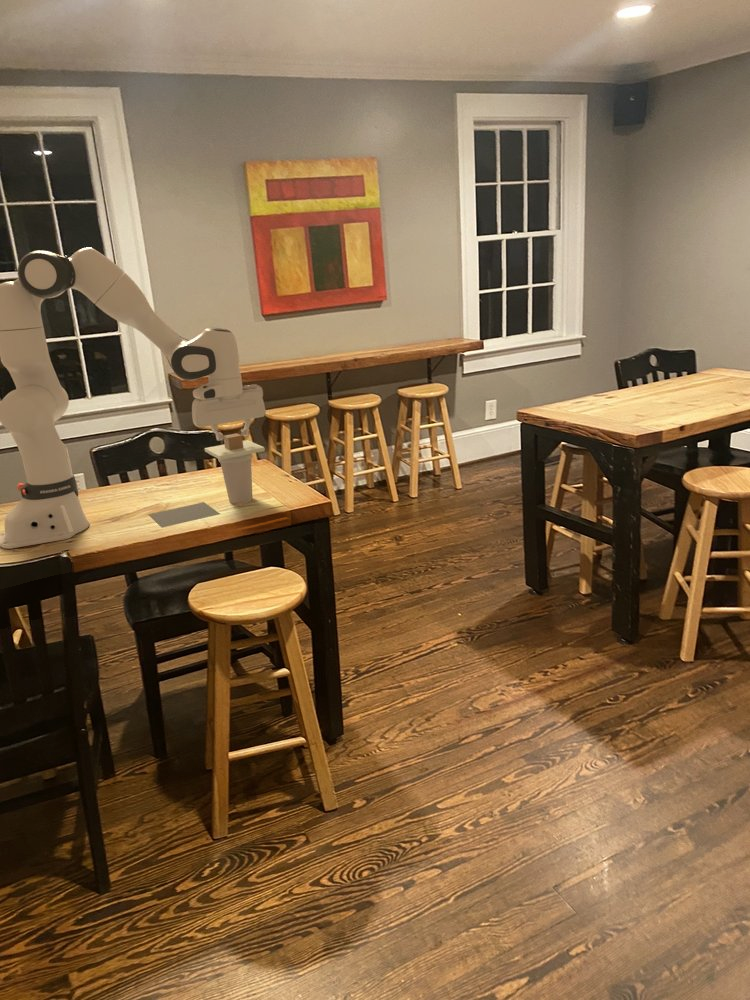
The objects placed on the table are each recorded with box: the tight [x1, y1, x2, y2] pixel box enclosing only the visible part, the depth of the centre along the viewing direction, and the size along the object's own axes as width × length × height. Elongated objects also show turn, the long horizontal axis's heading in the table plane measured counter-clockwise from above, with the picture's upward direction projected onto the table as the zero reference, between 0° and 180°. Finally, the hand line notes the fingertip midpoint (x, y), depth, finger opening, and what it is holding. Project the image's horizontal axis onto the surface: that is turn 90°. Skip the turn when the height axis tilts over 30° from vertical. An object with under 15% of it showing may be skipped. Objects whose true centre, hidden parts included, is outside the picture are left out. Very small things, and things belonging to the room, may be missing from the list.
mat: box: [148, 501, 221, 528], centre depth 198 cm, size 16×14×1 cm
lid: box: [204, 432, 266, 460], centre depth 202 cm, size 13×13×4 cm
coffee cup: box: [218, 453, 254, 505], centre depth 205 cm, size 10×10×15 cm
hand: (232, 437), depth 202 cm, fingers open, 6 cm apart
